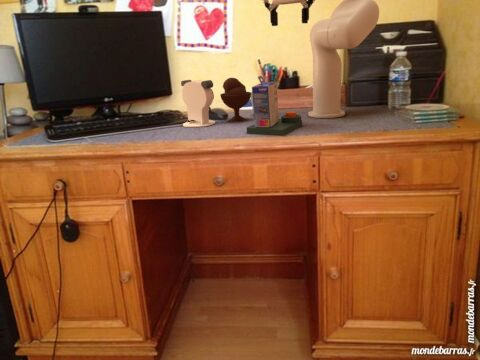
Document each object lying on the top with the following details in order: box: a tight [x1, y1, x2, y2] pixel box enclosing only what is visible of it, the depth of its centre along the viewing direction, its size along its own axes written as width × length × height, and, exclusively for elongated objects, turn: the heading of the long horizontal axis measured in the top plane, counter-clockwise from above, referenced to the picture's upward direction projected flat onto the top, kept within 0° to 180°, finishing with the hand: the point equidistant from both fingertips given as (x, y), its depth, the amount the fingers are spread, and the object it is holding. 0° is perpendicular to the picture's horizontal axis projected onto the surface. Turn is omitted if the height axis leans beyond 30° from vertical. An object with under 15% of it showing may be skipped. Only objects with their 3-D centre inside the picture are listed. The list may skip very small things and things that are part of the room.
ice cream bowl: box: [220, 77, 251, 123], centre depth 136 cm, size 11×11×15 cm
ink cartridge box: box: [251, 75, 280, 128], centre depth 117 cm, size 10×6×14 cm, turn 161°
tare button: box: [285, 111, 297, 117], centre depth 121 cm, size 3×3×2 cm
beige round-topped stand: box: [180, 79, 216, 128], centre depth 134 cm, size 12×11×15 cm
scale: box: [246, 114, 303, 137], centre depth 120 cm, size 15×13×4 cm
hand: (289, 24), depth 116 cm, fingers open, 9 cm apart
